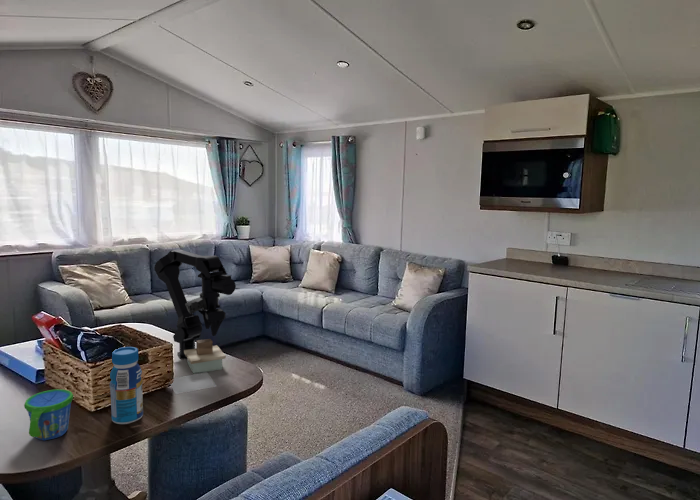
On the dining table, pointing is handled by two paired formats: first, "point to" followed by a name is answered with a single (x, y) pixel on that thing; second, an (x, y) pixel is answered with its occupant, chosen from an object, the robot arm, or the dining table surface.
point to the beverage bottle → (126, 386)
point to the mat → (192, 383)
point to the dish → (205, 366)
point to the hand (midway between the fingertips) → (210, 332)
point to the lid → (204, 352)
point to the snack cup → (49, 413)
